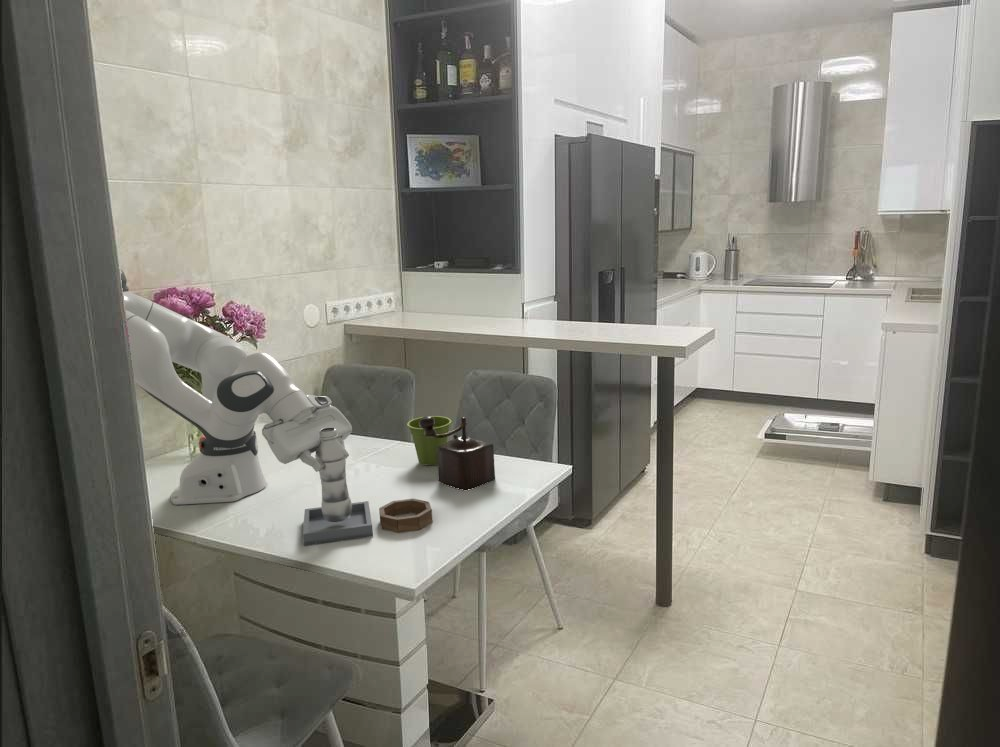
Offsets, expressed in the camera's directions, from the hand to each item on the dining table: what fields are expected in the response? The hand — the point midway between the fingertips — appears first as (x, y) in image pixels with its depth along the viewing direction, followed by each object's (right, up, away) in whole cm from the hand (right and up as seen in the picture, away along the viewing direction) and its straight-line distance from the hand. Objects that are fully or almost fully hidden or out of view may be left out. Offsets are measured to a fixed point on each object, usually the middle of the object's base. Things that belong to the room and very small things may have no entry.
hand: (333, 463), depth 157 cm
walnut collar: (+15, -13, +5) cm, 20 cm away
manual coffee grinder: (+25, -8, +27) cm, 38 cm away
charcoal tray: (0, -14, +3) cm, 15 cm away
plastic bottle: (0, -13, +3) cm, 13 cm away
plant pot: (+17, -5, +44) cm, 48 cm away
